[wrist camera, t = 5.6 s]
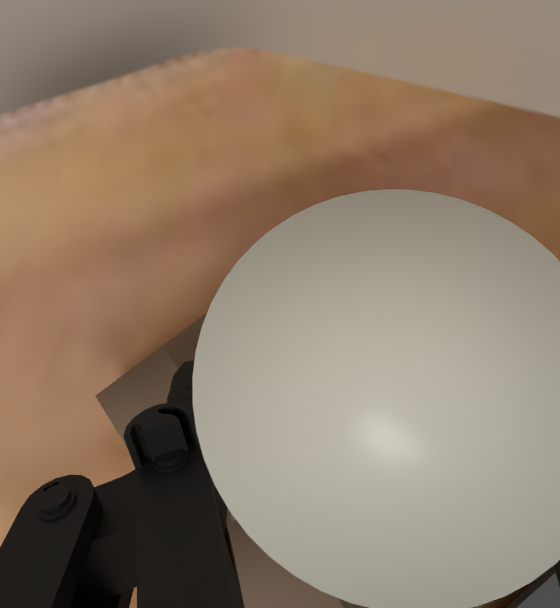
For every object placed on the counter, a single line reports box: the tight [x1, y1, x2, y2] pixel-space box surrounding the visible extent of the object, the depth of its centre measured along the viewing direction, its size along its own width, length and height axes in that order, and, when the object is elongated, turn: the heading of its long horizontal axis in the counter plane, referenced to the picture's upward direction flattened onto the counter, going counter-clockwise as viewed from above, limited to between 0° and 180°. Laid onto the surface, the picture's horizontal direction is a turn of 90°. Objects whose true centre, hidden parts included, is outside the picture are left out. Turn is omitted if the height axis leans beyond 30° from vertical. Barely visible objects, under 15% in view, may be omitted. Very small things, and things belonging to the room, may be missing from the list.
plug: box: [192, 189, 560, 608], centre depth 13 cm, size 5×5×15 cm
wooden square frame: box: [96, 314, 474, 608], centre depth 19 cm, size 13×13×2 cm
